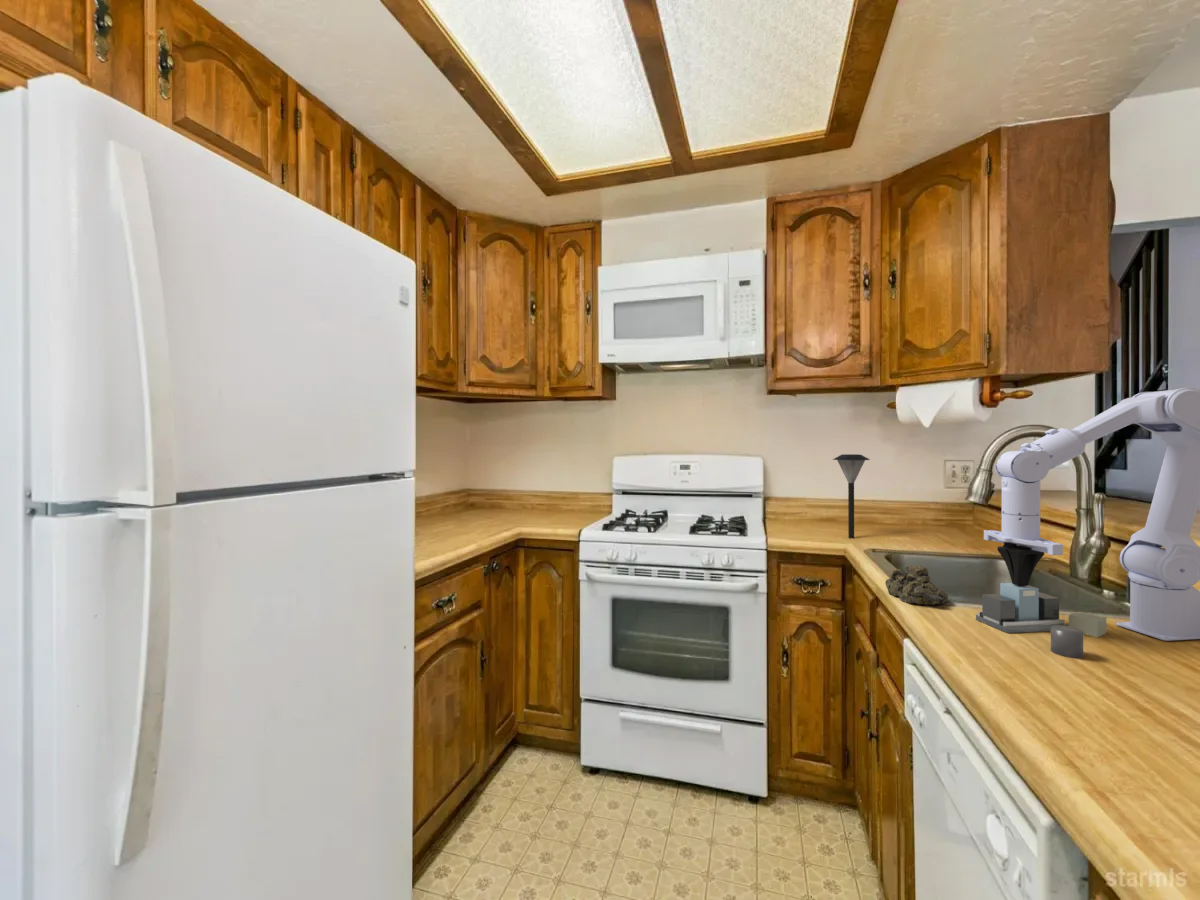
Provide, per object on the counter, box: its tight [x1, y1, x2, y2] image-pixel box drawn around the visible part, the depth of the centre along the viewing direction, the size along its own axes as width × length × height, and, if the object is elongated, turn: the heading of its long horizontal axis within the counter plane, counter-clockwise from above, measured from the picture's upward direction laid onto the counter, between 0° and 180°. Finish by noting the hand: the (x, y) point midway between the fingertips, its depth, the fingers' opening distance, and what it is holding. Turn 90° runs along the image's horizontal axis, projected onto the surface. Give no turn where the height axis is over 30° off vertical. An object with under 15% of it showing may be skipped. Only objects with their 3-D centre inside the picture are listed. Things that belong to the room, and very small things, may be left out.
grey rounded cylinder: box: [1050, 625, 1084, 659], centre depth 85 cm, size 4×4×4 cm
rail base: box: [975, 591, 1068, 634], centre depth 98 cm, size 12×7×6 cm, turn 95°
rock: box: [884, 565, 949, 606], centre depth 115 cm, size 13×10×10 cm
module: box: [999, 582, 1040, 621], centre depth 97 cm, size 4×4×6 cm
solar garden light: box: [832, 453, 870, 539], centre depth 183 cm, size 12×12×30 cm
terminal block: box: [1068, 611, 1107, 638], centre depth 94 cm, size 4×4×3 cm
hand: (1020, 584), depth 97 cm, fingers closed
